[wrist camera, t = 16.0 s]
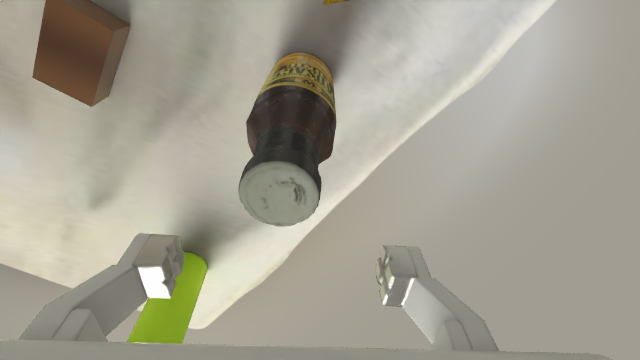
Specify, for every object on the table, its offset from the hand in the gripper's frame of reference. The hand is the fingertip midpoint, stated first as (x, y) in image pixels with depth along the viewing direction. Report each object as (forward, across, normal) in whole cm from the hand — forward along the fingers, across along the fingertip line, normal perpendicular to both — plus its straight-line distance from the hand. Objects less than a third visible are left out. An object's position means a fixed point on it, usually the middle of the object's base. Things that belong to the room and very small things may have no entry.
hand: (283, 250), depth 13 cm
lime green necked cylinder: (+23, +15, +28) cm, 40 cm away
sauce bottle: (+23, 0, 0) cm, 23 cm away
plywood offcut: (+23, +20, -2) cm, 30 cm away
